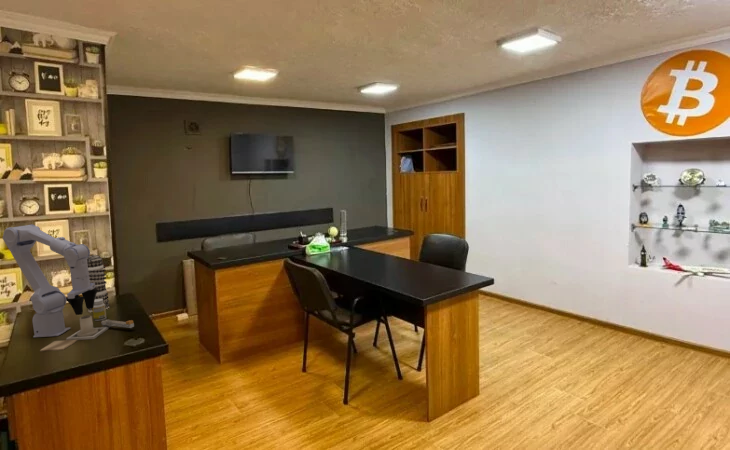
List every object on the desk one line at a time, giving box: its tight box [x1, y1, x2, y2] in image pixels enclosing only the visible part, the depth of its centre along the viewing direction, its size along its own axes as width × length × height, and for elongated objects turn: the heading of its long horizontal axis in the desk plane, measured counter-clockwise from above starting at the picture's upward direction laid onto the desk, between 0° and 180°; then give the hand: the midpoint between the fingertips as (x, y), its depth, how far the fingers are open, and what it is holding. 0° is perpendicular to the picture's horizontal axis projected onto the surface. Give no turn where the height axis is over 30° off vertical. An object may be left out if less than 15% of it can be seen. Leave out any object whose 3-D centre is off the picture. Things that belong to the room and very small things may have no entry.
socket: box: [65, 326, 109, 341], centre depth 164 cm, size 10×10×1 cm
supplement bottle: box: [92, 299, 108, 322], centre depth 181 cm, size 5×5×8 cm
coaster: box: [39, 339, 78, 352], centre depth 154 cm, size 8×8×1 cm
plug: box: [76, 314, 99, 337], centre depth 164 cm, size 7×7×7 cm
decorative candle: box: [87, 254, 110, 313], centre depth 194 cm, size 9×9×25 cm
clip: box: [100, 318, 135, 329], centre depth 169 cm, size 3×16×2 cm, turn 69°
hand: (84, 311), depth 163 cm, fingers open, 7 cm apart
